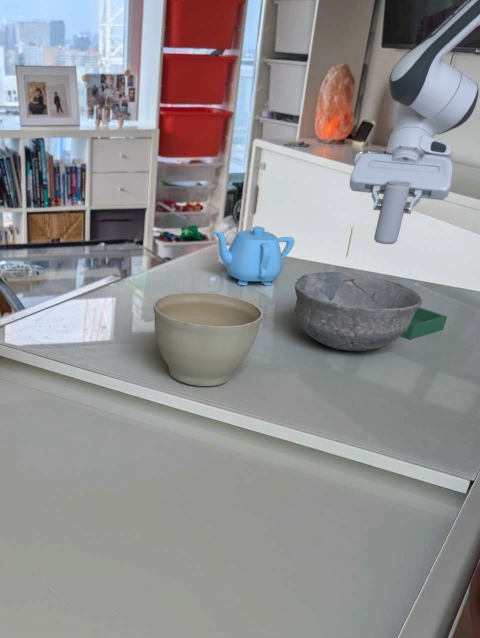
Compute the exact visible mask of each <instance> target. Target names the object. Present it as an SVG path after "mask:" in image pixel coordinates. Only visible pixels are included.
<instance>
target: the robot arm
mask: <svg viewBox="0 0 480 638" xmlns="http://www.w3.org/2000/svg"><path fill="white" fill-rule="evenodd" d="M479 26H480V0H464V1H463V2H462V3H461V4H460V5H459V6H458V7H457V8H456V9H455V10H454V11H453V12H452V13H451V14H450V15H448V16H447V17H446V18H445V19H444V20H443V21H442V22H441V23H440V24H439V25H438V26H437V27H436V28H435V29H434V30H433V31H432V32H430V33H429V34H428V35H427V36H425V38H424V39H422V41H421V42H419V43H417V44H416V45H415V46H413V48H412V47H411V49H410V50H408V51H407V52H406V53H404V55H402V56H401V57H400V58H399V60H398V61H396V64H395V65H394V66H393V68H392V70H391V72H390V74H389V77H388V79H389V81H388V86H389V92H390V93H389V94H390V96H391V99H392V100H393V101H395V102H397V103H398V106H397V109H396V112H395V115H394V119H393V123H392V125H393V129H392V132H391V133H390V135H389V138H388V142H387V146H386V149H385V150H379V149H378V150H376V149H375V150H372V149H363V150H361V151H359V152H357V153H356V154H355V156H354V160H353V166H354V167H353V169H352V172H351V174H350V178H349V188H350V190H351V191H353V192H358V193H359V192H360V193H369V194H371V198H372V201H373V211H379V212H380V209H381V205H382V200H383V198H380V197H379V196H380V195H384V191H385V187H386V184H388V183H387V181H391V180H397V181H398V182H401V181H405V182H409V183H410V185H409V186H410V189H409V193H408V197H407V198H412V199H411V200H410V201H407V202H406V206H405V209H404V214H405V215H406V214H407V215H411V214H412V212H413V211H412V210H413V208H414V207H416V206H417V205H418V203H419V202H421V199H428V200H438V201H443V200H445V199H446V198H447V197H448V196H449V194H450V190H451V186H452V180H453V169H454V167H453V162H452V160H451V159H452V156H453V155H452V154H453V147H452V146H451V145H450V144H447V143H444V142H441V141H439V140H437V139H434V137H435V136H436V135H443V134H445V133H447V132H449V131H451V130H454V129H456V128H459V127H460V126H462V125H463V124H464V123H466V122H467V121H468V120H469V119H470V118H471V116H472V114H473V112H474V110H475V108H476V106H477V103H478V99H479V85H478V83H477V82H476V81H475V80H473V79H472V78H471V77H470V76H468V75H467V74H465V73H464V72H463V71H461V70H459V69H457V68H456V67H454V66H453V65H451V64H450V63H448V62H447V61H445V60H444V59H443V58H444V57H445V56H447V54H449V52H451V51H452V50H453V49H454V48H455V47H456V46H457V45H459V44H460V43H461V42H462V41H463V40H464V39H465V38H466V37H467V36H468V35H469V34H470V33H472V32H473V31H474V30H475V29H476V28H477V27H479Z"/></svg>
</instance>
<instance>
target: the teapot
mask: <svg viewBox="0 0 480 638" xmlns="http://www.w3.org/2000/svg"><path fill="white" fill-rule="evenodd" d="M265 230H266V228H265V227H263V226H253V227H252V229H246V230H239V231H238V232H237V233H236V235H235V237H234V238H233V240H232V242H231V244H230V246H229V248H228V247H227V240H226V236H225V234H224V233H223V232H222V231H217V230H212V231H211V232H212V233H214V234H215V235H216V236H217V239H218V253H219V257H220V259H221V261H222V262H223V263H224V265H225V268H226V270H227V272H228V274H229V275H230V276H231V277H235V278H234V279H237V280H238V282H237V283H238V284H242V285H246V284H248V285H249V282H260V283H261V285H262V284H264V285H271V284H272V285H273V283H272V282H273V281H276V279H277V278H278V277H279V276H280V274H281V273H282V268H283V260H284V259H285V258H286V257H287V255H289V253H290V252H291V251H292V249H293V247H294V245H295V243H296V241H295V238H293V236H281V237H277V236H276V235H275V234H273V233H271V232H269V231H265ZM280 243H286V244H285V247H284V249H283V250H282V251H281V246H280ZM231 277H230V278H231ZM264 285H263V286H264ZM272 285H271V286H272Z"/></svg>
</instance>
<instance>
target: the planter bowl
mask: <svg viewBox="0 0 480 638" xmlns="http://www.w3.org/2000/svg"><path fill="white" fill-rule="evenodd" d="M153 313H154V333H155V338H156V342H157V346H158V348H159V352H160V354H161V356H162V358H163V359H164V361H165V363H166V364H167V366H168V373H169V375H170V377H172V378H173V379H175V380H176V381H178V382H181V383H183V384H186V385H191V386H198V387H215V386H216V387H217V386H219V385H224V384H225V383H227V382H228V381H229V380H230V379H231V376H232V373H233V372H234V371H235V370H236V369H237V368H239V366H241V364H242V363H243V362H244V361H245V359H246V358H247V356H248V355H249V353H250V352H251V350H252V348H253V346H254V343H255V341H256V340H257V335H258V332H259V327H260V324H261V322H262V320H263V314H264V312H263V310H262V309H261V307H259V306H258V305H256V304H255V303H254V302H251V301H249V300H247V299H243V298H241V297H237V296H233V295H229V294H223V293H218V292H208V291H186V292H185V291H182V292H175V293H174V292H173V293H169V294H164V295H162V296H160V297H158V298H157V299H156V300H155V301H154V302H153Z"/></svg>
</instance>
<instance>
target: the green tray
mask: <svg viewBox="0 0 480 638" xmlns="http://www.w3.org/2000/svg"><path fill="white" fill-rule="evenodd" d="M447 317H448V316H446V315H444V314H441V313H438V312H435V311H432V310H429V309H425V308H424V307H421V306H420V307H419V308H418V310H417V311H416V312H415V314H414V316H413V318H412V320H411V323H410V325H409V328H408V330H407V331H406V332H405V333H404V334H403V335H401V336H400V337H403V338H404V339H408V340H413V339H416V338H420V337H423V336H426V335H430V334H433V333H436V332H440V331H443V330H444V329H445V326H446V322H447V319H448V318H447Z"/></svg>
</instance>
